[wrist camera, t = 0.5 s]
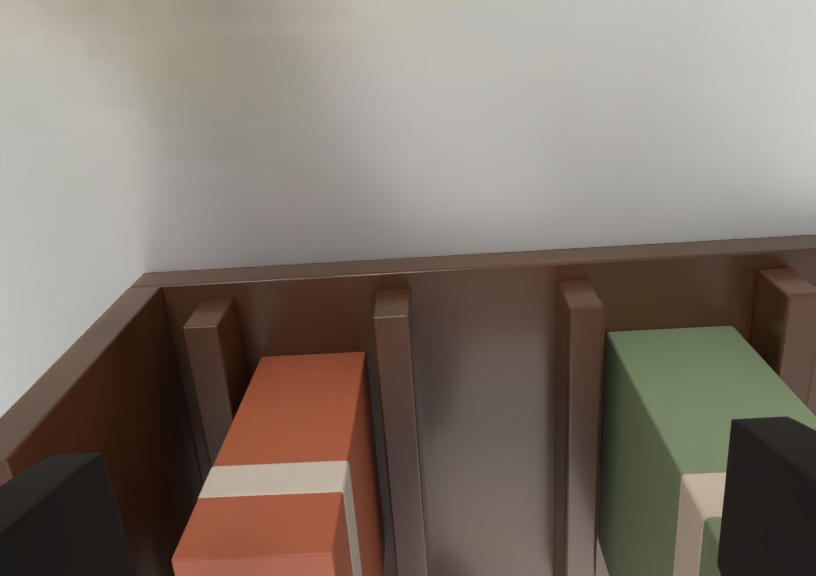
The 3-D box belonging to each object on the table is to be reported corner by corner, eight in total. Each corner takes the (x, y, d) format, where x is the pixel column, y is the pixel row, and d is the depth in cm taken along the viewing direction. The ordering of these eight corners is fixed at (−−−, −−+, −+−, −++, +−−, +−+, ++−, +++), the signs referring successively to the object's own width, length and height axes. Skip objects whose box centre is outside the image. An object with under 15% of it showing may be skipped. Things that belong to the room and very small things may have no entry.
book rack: (787, 560, 21) (978, 863, 14) (210, 582, 22) (103, 879, 15) (838, 232, 18) (1136, 407, 10) (142, 272, 18) (-46, 462, 11)
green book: (710, 539, 20) (896, 897, 12) (597, 544, 20) (708, 900, 12) (734, 323, 18) (984, 595, 10) (604, 330, 18) (749, 603, 10)
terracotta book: (386, 546, 20) (367, 808, 14) (291, 550, 20) (228, 811, 14) (366, 349, 18) (333, 553, 12) (260, 355, 18) (168, 559, 12)
